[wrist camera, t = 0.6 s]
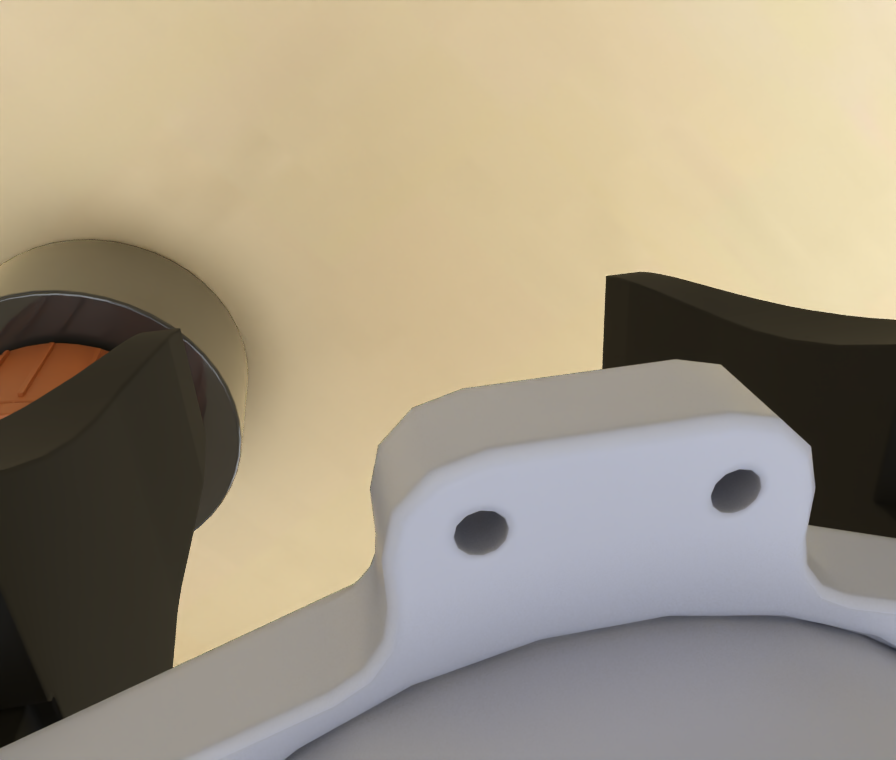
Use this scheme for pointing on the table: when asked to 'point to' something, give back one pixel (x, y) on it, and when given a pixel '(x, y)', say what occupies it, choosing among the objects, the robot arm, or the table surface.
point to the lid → (40, 371)
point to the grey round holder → (134, 329)
